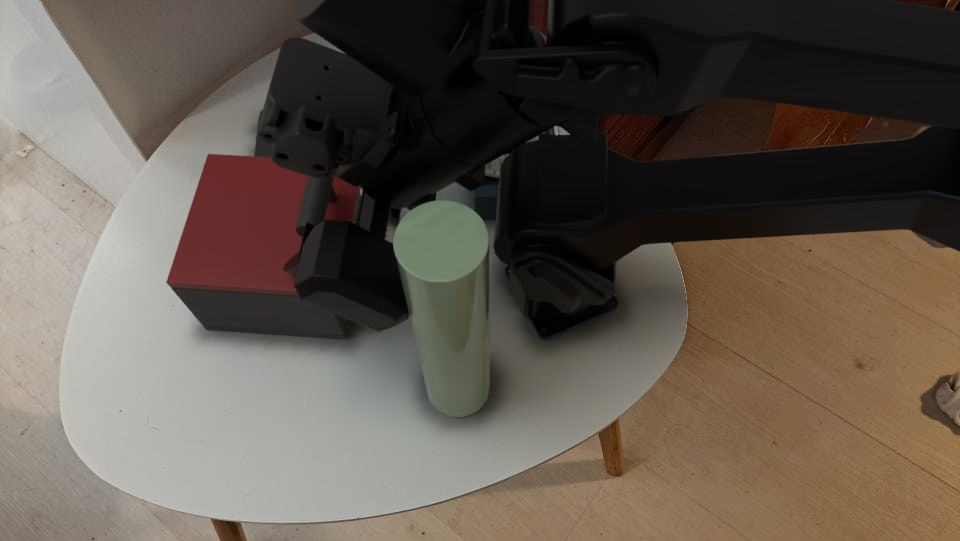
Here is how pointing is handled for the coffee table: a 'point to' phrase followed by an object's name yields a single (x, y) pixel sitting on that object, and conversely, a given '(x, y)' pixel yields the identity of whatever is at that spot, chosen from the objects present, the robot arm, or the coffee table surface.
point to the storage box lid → (253, 224)
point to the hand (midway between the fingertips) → (302, 217)
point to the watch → (494, 184)
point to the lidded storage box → (262, 312)
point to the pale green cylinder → (448, 301)
